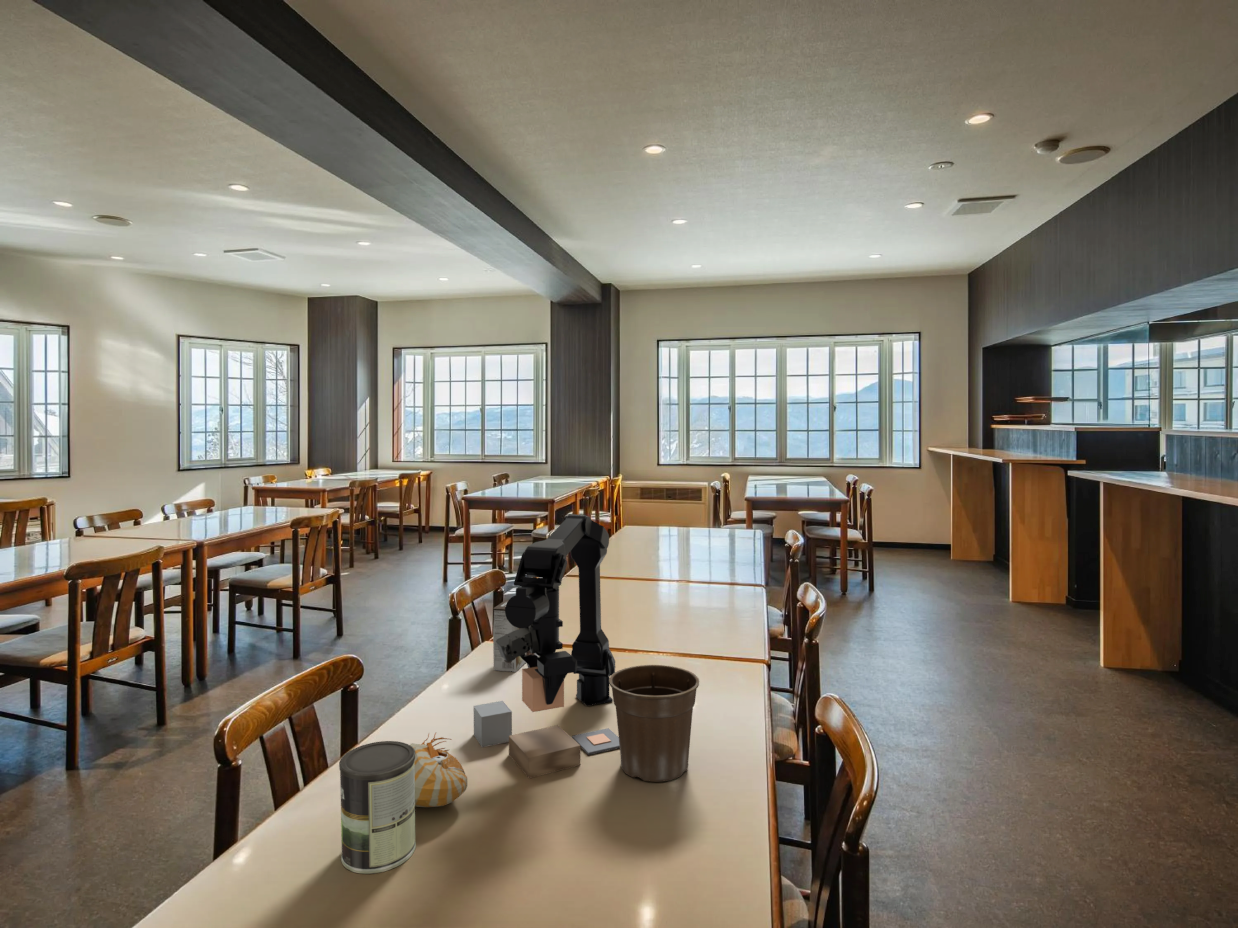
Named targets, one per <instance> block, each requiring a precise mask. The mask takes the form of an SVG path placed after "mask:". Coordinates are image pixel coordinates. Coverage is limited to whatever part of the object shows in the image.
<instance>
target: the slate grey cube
mask: <svg viewBox="0 0 1238 928" xmlns="http://www.w3.org/2000/svg"><path fill="white" fill-rule="evenodd" d="M512 713H513V711H512V710H511V709H510V707H509V706H508V704H506V702H505V701H503V700H499V701H494V702H487V703H482V704H477V705H476V704H475V705H473V736H474V738H475V739H476V741H477V742H478V744H479V745H480V747H481V748H485V747H491V746H496V745H500V744H504V743H509V736H510V735H513V716H512V715H513V714H512Z"/></svg>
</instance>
